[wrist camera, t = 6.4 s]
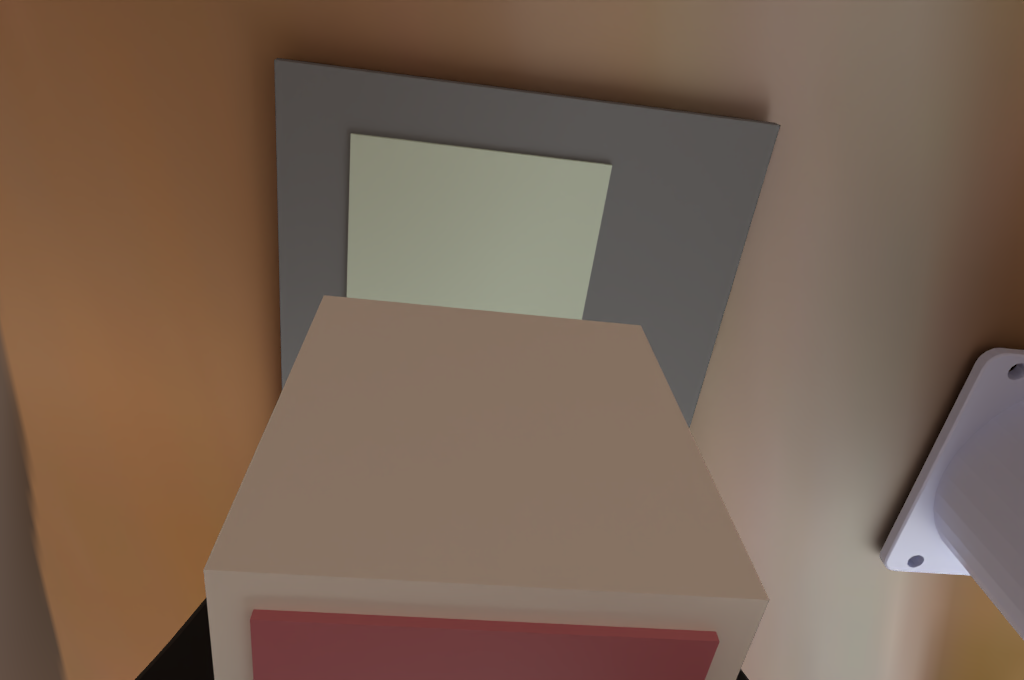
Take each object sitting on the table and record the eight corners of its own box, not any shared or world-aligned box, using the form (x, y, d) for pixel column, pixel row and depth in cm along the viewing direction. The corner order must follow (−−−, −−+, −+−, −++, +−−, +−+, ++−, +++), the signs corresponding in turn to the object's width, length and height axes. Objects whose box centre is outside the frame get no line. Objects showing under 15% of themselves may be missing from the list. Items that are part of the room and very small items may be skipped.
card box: (554, 685, 14) (593, 1029, 9) (321, 676, 13) (246, 1035, 9) (640, 325, 10) (774, 610, 6) (324, 295, 10) (200, 580, 5)
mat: (775, 122, 16) (781, 126, 16) (617, 655, 24) (619, 665, 24) (277, 57, 15) (273, 60, 15) (290, 641, 23) (287, 651, 23)
